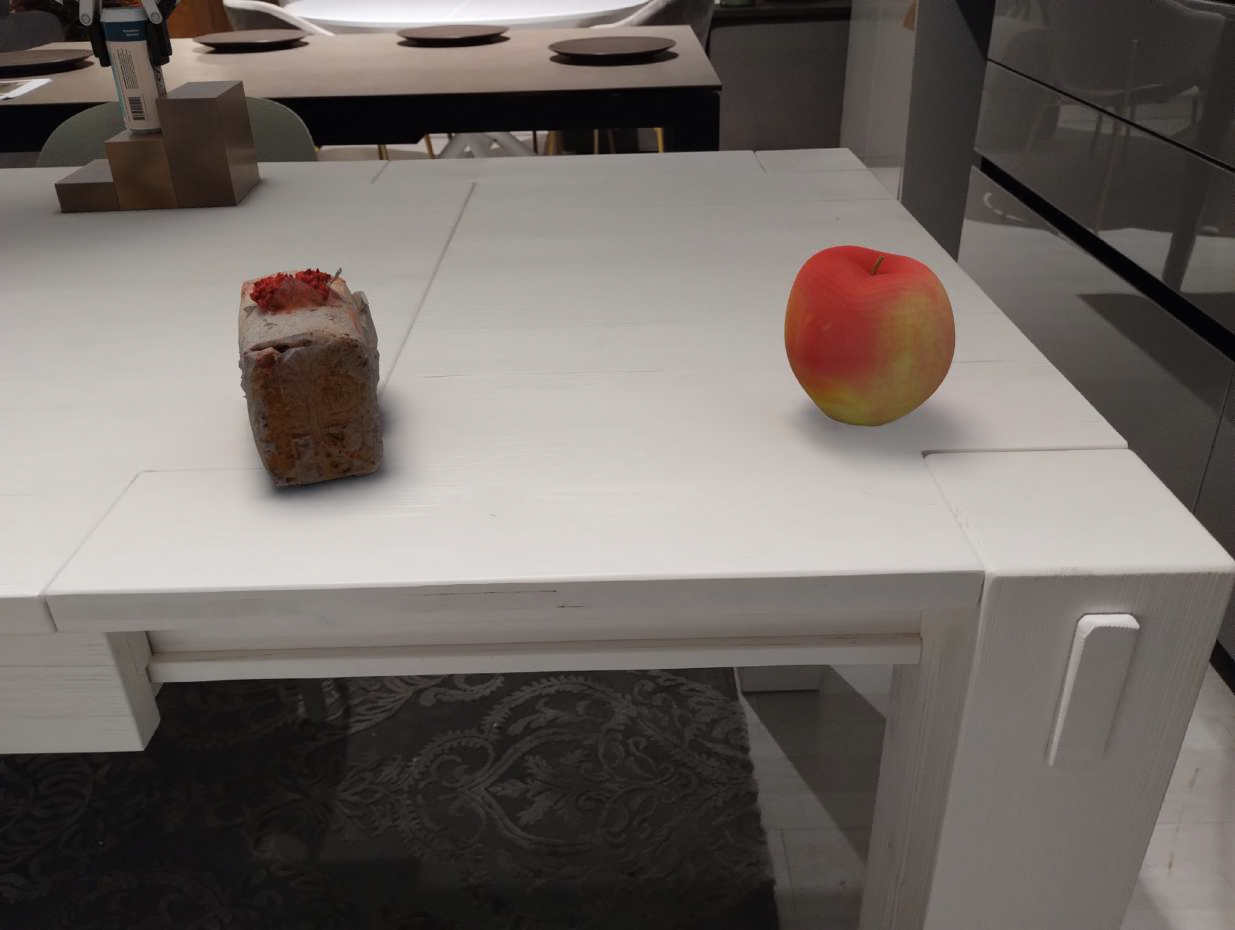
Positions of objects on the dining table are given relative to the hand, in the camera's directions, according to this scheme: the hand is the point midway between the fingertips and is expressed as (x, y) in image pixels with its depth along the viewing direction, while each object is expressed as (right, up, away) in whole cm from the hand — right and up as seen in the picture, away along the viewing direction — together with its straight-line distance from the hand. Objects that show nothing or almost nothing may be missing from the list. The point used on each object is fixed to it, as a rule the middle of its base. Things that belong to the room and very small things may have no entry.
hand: (135, 62), depth 106 cm
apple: (+65, -39, -45) cm, 88 cm away
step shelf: (0, -12, +7) cm, 14 cm away
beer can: (0, -6, +3) cm, 7 cm away
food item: (+33, -40, -45) cm, 69 cm away
